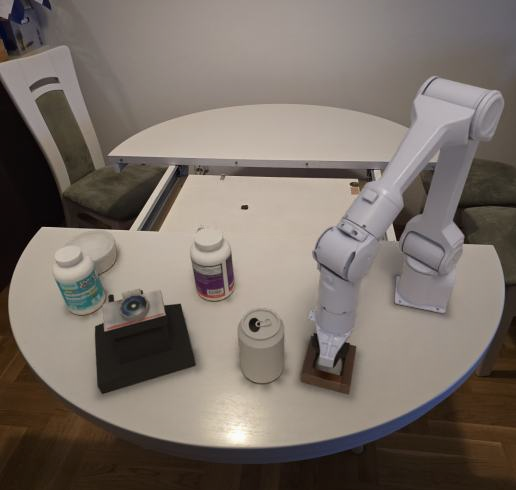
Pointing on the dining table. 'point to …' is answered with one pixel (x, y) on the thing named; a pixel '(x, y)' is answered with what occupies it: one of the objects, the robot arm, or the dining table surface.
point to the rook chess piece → (334, 370)
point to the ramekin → (97, 248)
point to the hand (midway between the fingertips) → (330, 355)
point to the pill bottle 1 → (78, 280)
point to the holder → (327, 378)
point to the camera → (140, 340)
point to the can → (261, 345)
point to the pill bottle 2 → (212, 264)
